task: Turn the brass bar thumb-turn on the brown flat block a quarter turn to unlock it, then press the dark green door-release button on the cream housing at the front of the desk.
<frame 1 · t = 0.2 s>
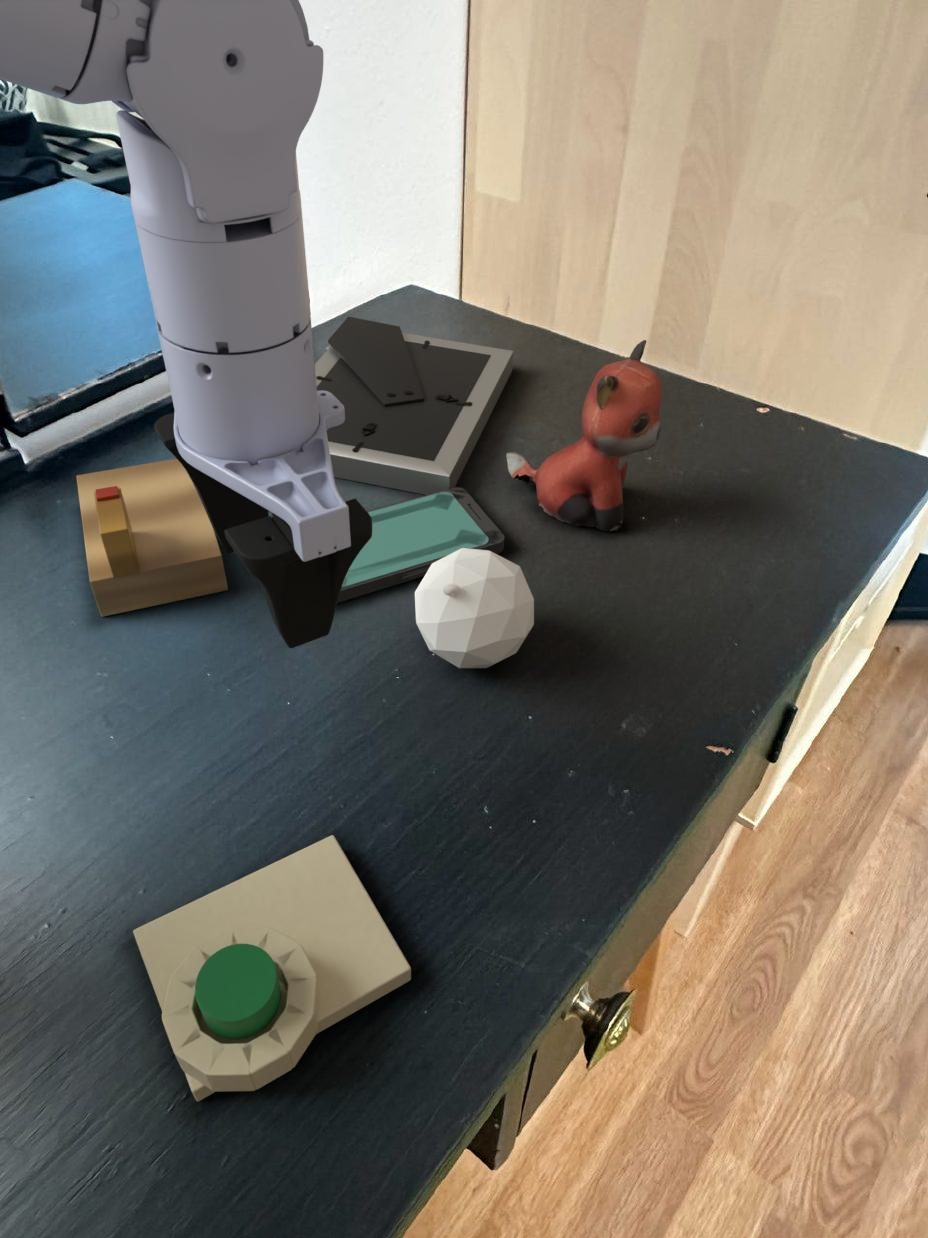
hand: (274, 588, 43), 11 cm above the table, tool pointing down, fingers open, 7 cm apart
picture frame: (393, 415, 76), on the table
ornament: (471, 651, 56), on the table
release button: (239, 991, 36), point 3 cm above the table, slide at 0.1 cm
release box: (273, 961, 41), on the table
thumb turn: (116, 530, 55), point 5 cm above the table, hinge at 0.0°
stuffed fox: (569, 499, 68), on the table
smartphone: (389, 553, 62), on the table
brown flat block: (154, 548, 62), on the table
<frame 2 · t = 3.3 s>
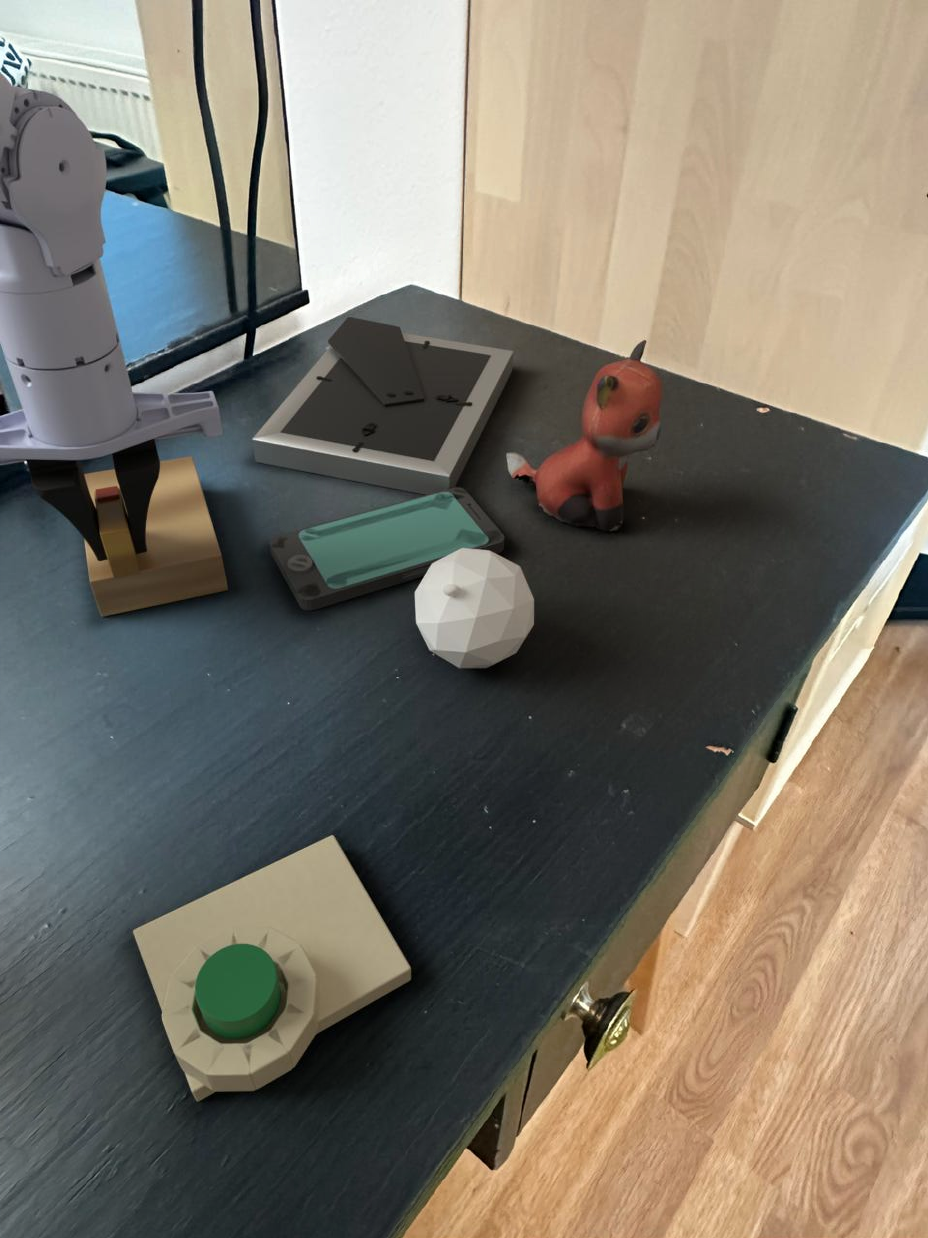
hand: (121, 547, 56), 4 cm above the table, tool pointing down, fingers closed on thumb turn, 2 cm apart
thumb turn: (116, 530, 55), point 5 cm above the table, hinge at 0.1°, touching gripper
everything else where it was.
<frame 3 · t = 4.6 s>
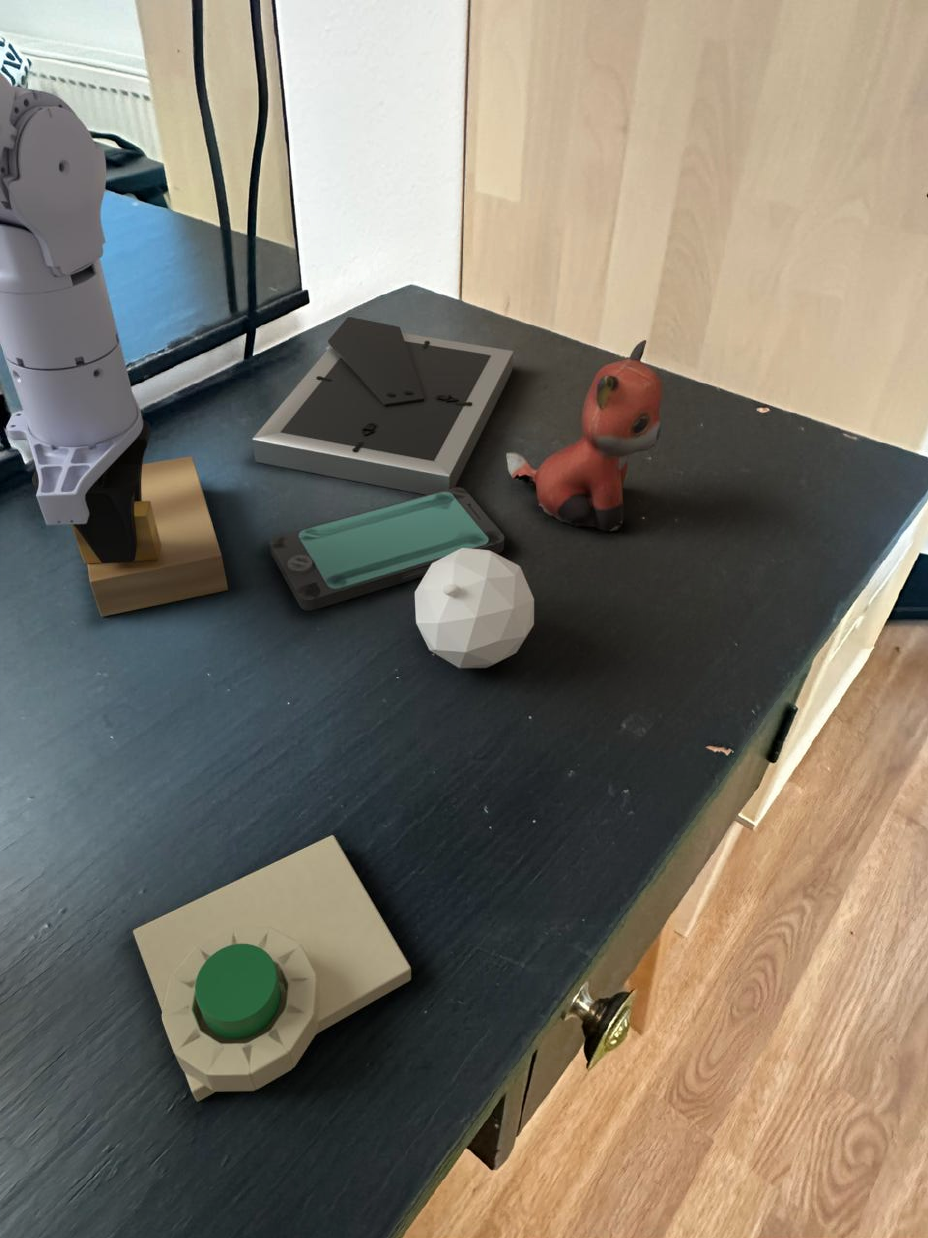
hand: (121, 547, 56), 4 cm above the table, tool pointing down, fingers closed on thumb turn, 2 cm apart
thumb turn: (116, 530, 55), point 5 cm above the table, hinge at 75.6°, touching gripper
everything else where it was.
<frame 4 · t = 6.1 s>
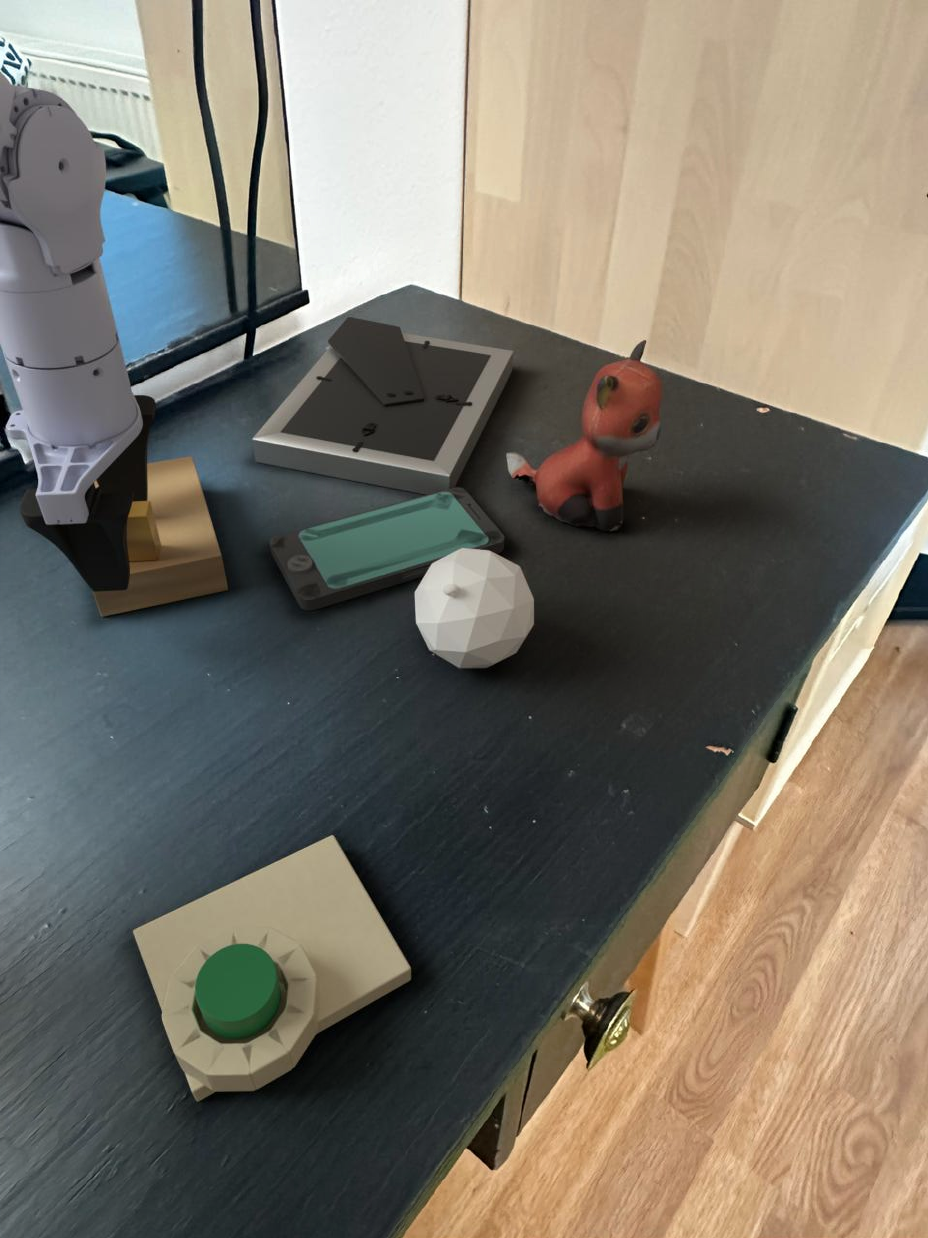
hand: (121, 546, 56), 4 cm above the table, tool pointing down, fingers open, 7 cm apart
thumb turn: (116, 530, 55), point 5 cm above the table, hinge at 75.6°
everything else where it was.
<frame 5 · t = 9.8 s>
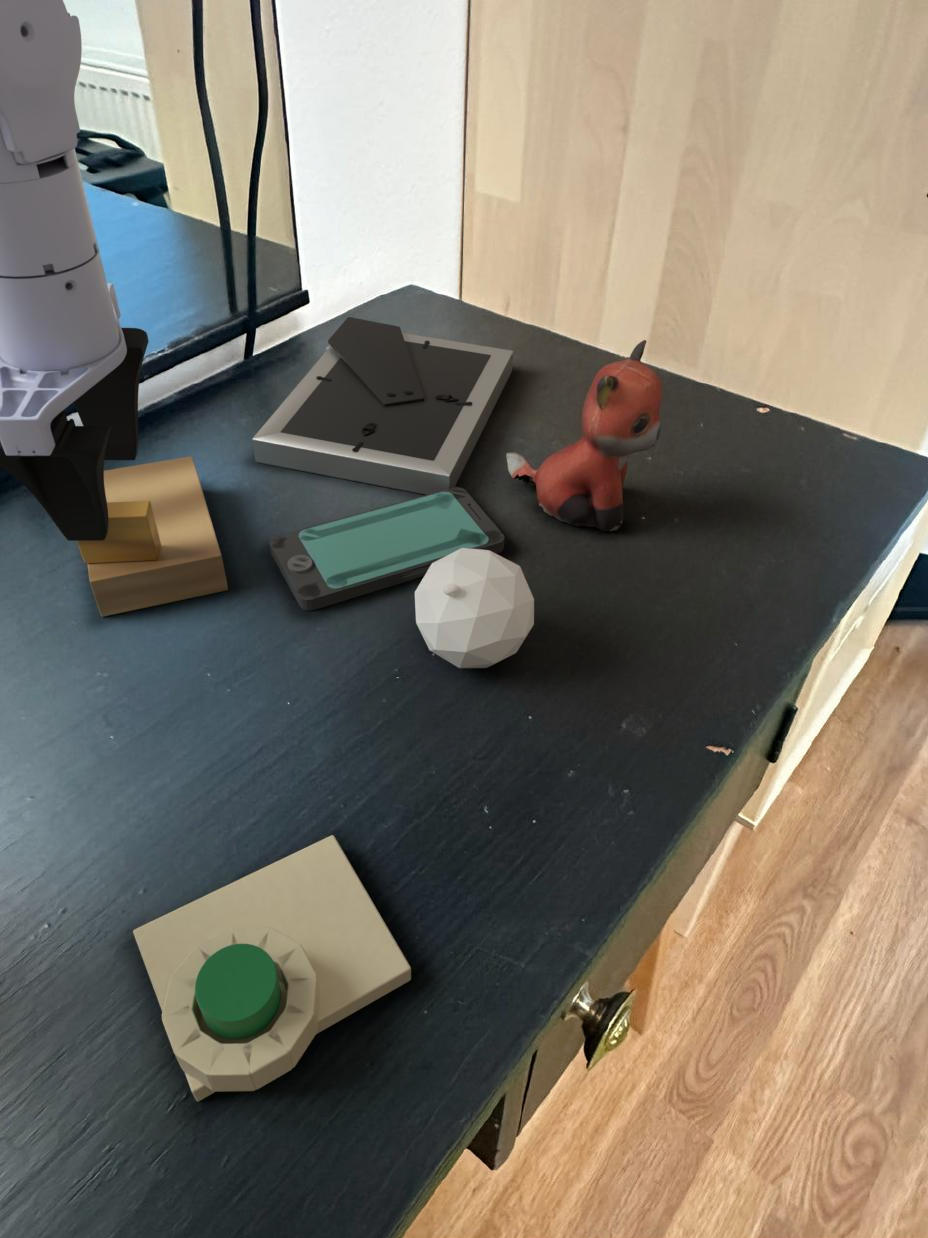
hand: (104, 494, 51), 9 cm above the table, tool pointing down, fingers open, 7 cm apart
nothing on the table moved.
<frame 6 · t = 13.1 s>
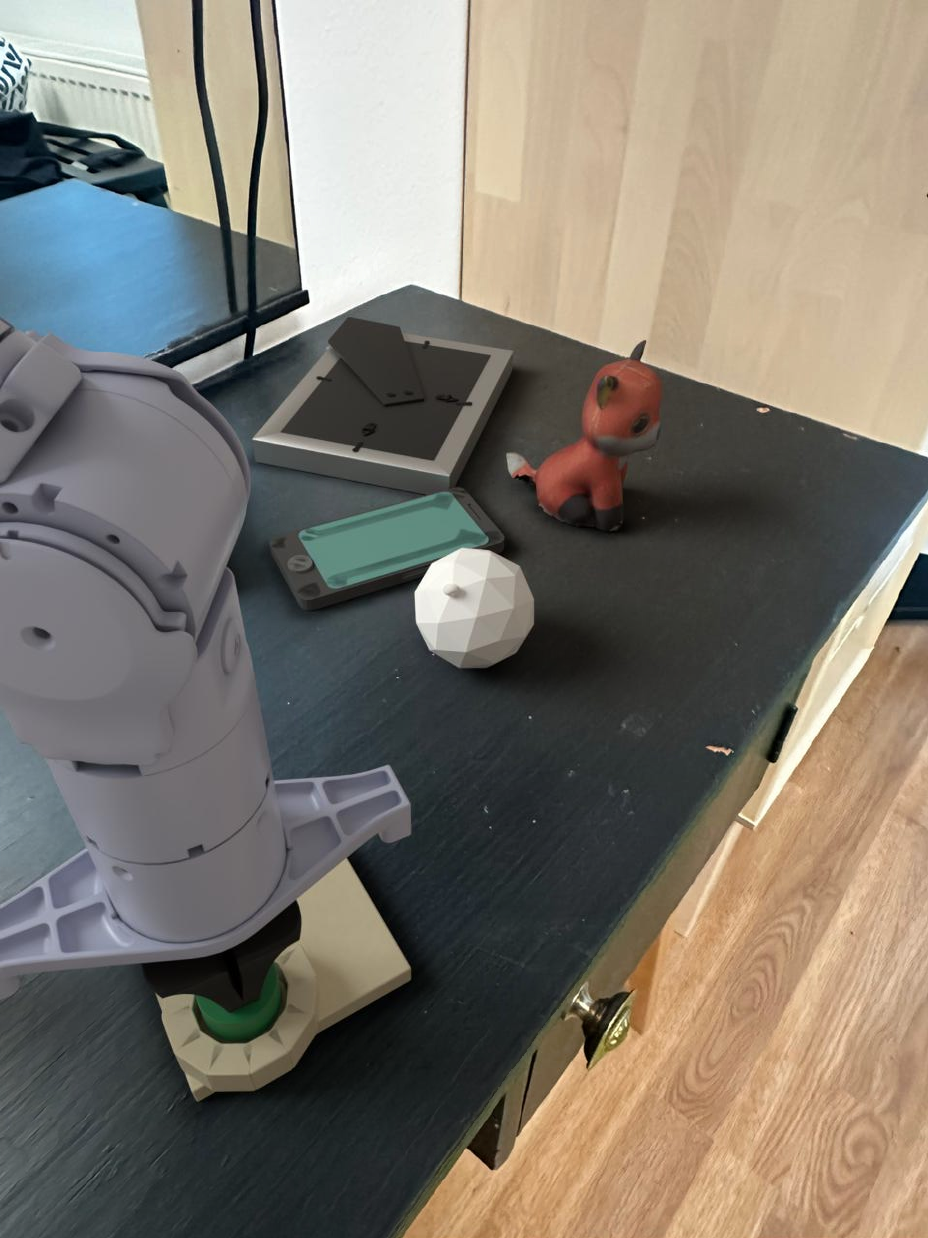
hand: (237, 984, 36), 4 cm above the table, tool pointing down, fingers closed, pressing on release button
release button: (239, 993, 36), point 3 cm above the table, slide at -0.1 cm, touching gripper
everything else where it was.
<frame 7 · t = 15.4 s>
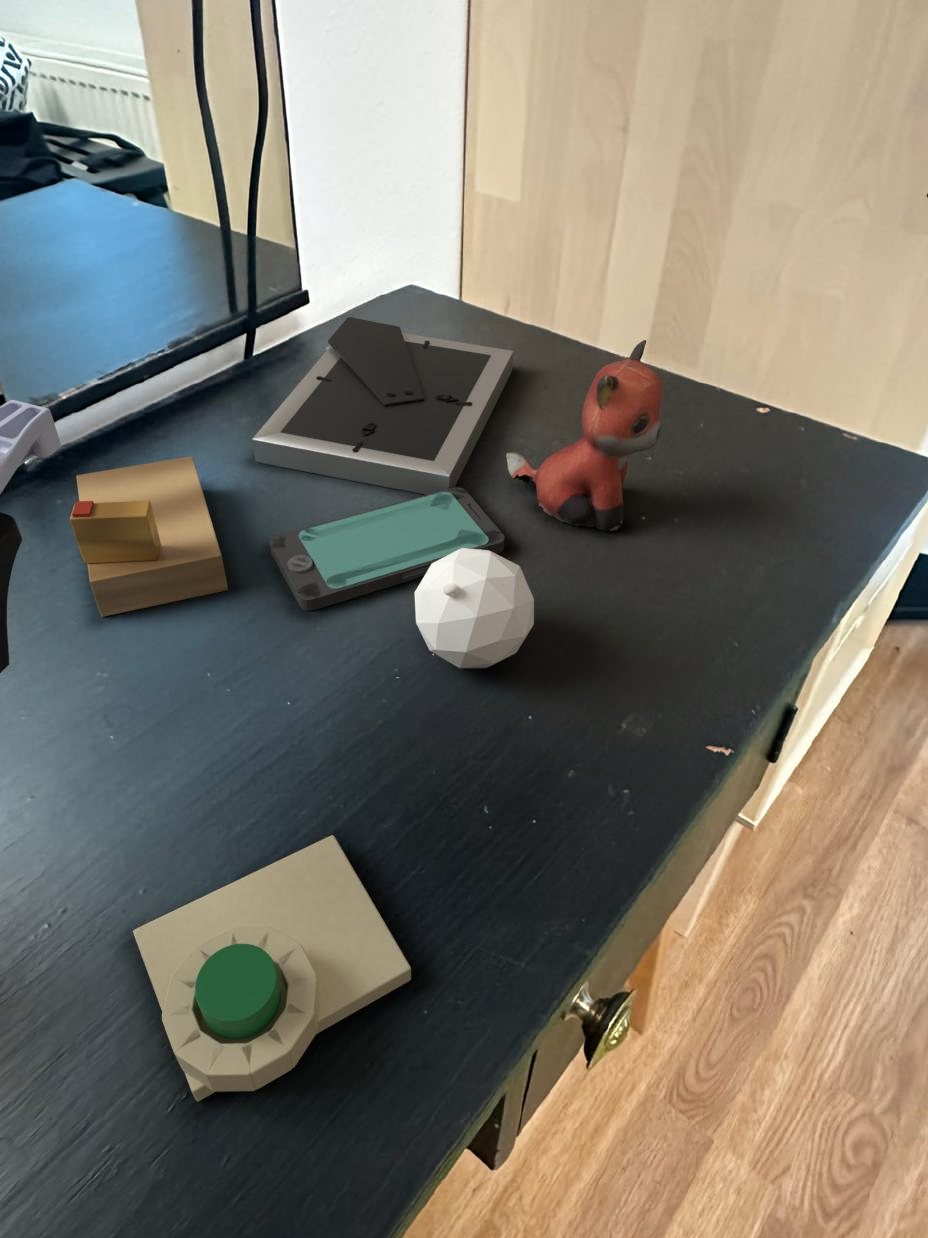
release button: (239, 991, 36), point 3 cm above the table, slide at 0.1 cm
everything else where it was.
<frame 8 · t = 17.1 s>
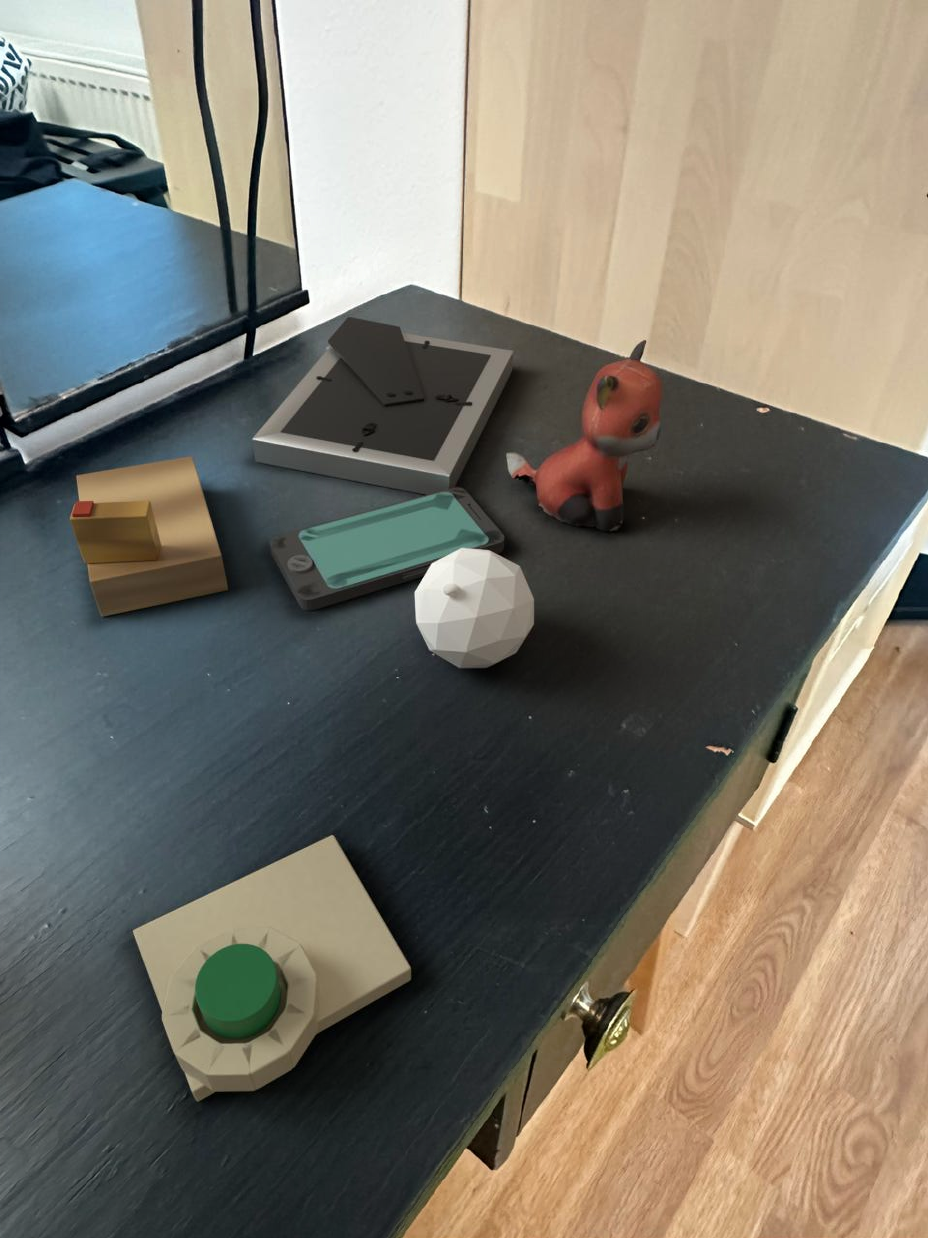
nothing on the table moved.
at the end: thumb turn at +76° (first picture: +0°); release button pushed in 1.2 cm at the most during the clip, back to where it started at the end; release button slide at 0.1 cm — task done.
